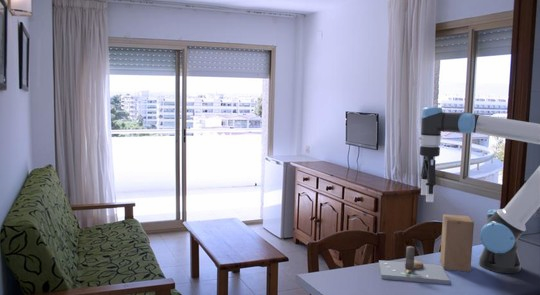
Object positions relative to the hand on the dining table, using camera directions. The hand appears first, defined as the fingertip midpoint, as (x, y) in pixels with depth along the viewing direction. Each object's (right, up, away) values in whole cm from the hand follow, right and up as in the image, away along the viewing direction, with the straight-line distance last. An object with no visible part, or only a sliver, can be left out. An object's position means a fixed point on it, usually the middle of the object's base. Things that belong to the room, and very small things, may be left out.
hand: (426, 198), depth 191 cm
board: (-9, -28, -10) cm, 31 cm away
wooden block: (+11, -28, -1) cm, 30 cm away
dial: (-9, -26, -10) cm, 29 cm away
